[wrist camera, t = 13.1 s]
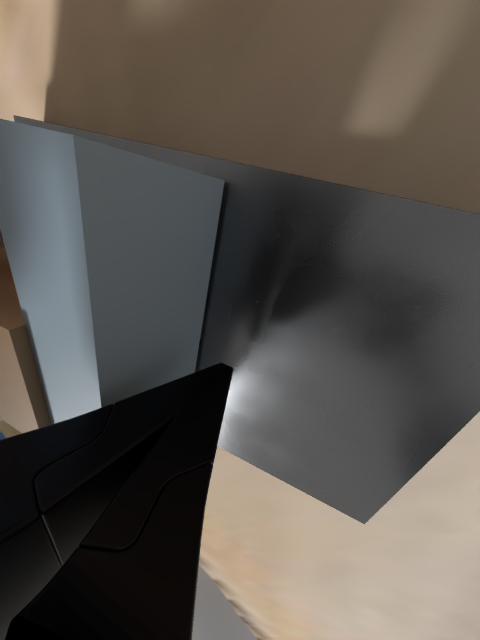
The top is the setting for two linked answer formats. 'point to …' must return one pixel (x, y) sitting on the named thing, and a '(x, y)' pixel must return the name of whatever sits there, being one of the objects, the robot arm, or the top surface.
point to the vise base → (335, 327)
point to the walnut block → (17, 362)
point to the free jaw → (105, 263)
